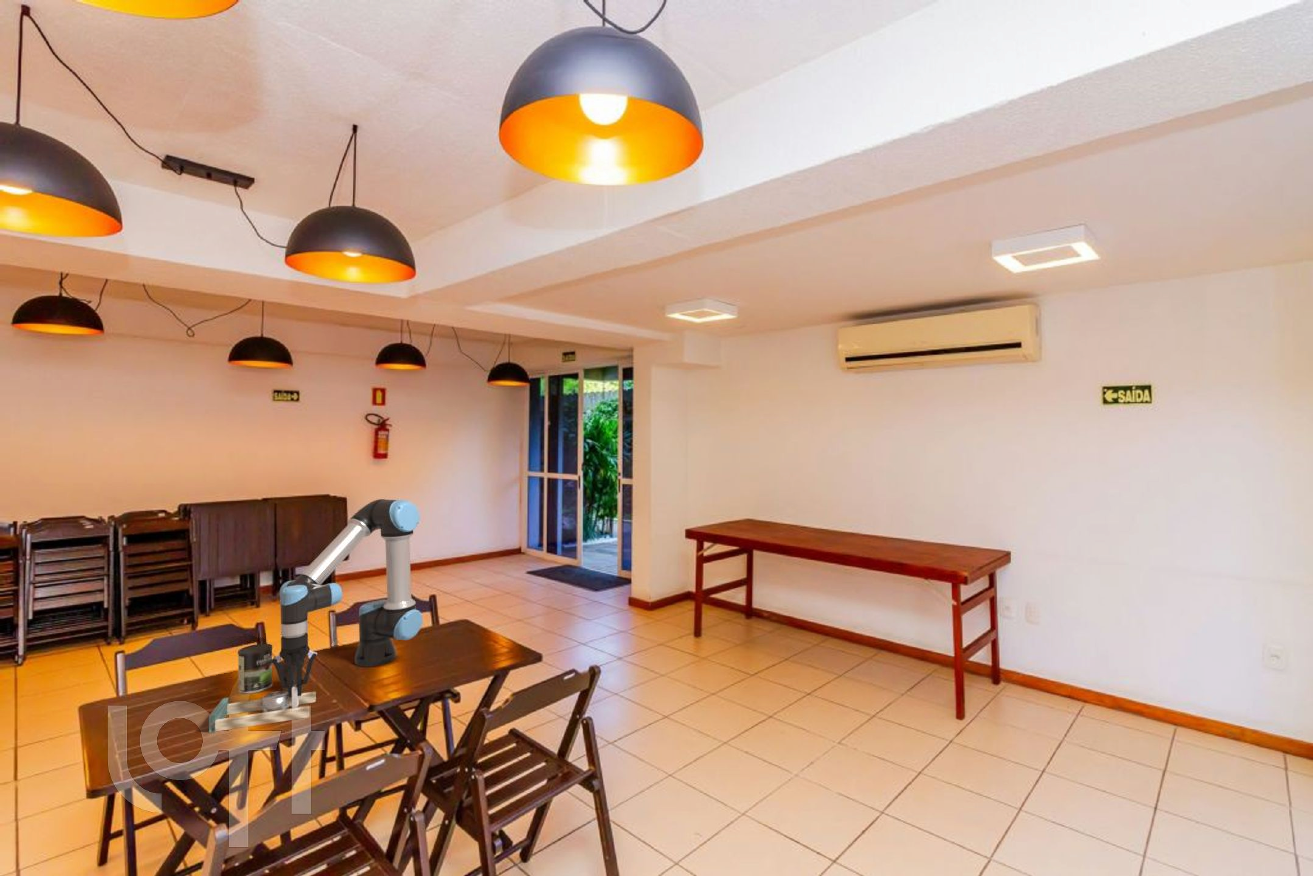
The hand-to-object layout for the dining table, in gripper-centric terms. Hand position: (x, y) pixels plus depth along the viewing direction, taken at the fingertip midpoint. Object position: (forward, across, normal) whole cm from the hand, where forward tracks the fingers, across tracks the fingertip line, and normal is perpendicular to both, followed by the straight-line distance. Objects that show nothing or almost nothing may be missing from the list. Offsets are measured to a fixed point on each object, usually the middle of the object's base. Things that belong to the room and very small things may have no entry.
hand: (295, 706), depth 196 cm
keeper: (+2, +6, 0) cm, 6 cm away
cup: (+2, +5, -20) cm, 21 cm away
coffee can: (+2, +17, -26) cm, 31 cm away
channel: (+2, +8, 0) cm, 8 cm away
